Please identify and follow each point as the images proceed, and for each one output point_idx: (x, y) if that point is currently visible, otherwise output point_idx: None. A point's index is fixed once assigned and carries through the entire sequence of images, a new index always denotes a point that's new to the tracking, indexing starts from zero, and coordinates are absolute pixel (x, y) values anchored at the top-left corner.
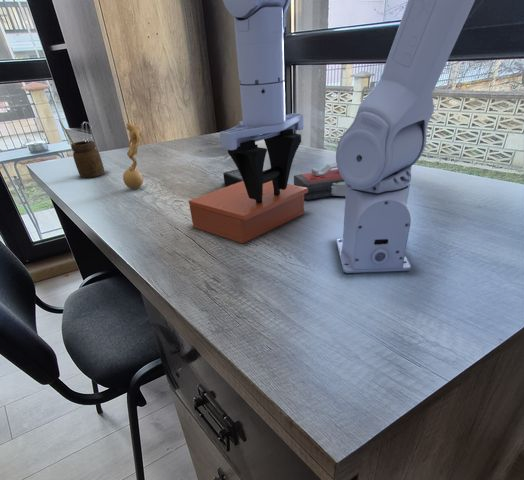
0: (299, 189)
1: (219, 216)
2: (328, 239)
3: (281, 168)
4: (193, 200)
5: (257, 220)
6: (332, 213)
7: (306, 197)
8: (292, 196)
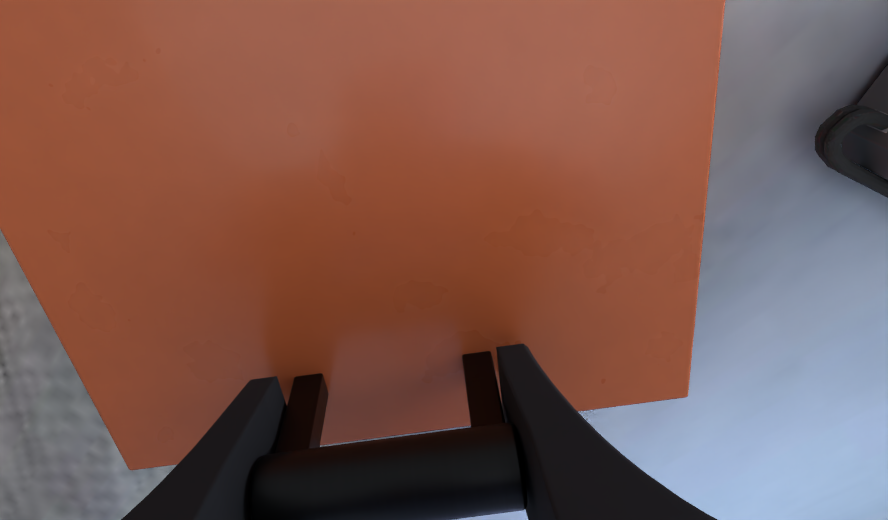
0: (636, 384)
1: None
2: None
3: (530, 507)
4: None
5: None
6: (709, 367)
7: (846, 150)
8: None
